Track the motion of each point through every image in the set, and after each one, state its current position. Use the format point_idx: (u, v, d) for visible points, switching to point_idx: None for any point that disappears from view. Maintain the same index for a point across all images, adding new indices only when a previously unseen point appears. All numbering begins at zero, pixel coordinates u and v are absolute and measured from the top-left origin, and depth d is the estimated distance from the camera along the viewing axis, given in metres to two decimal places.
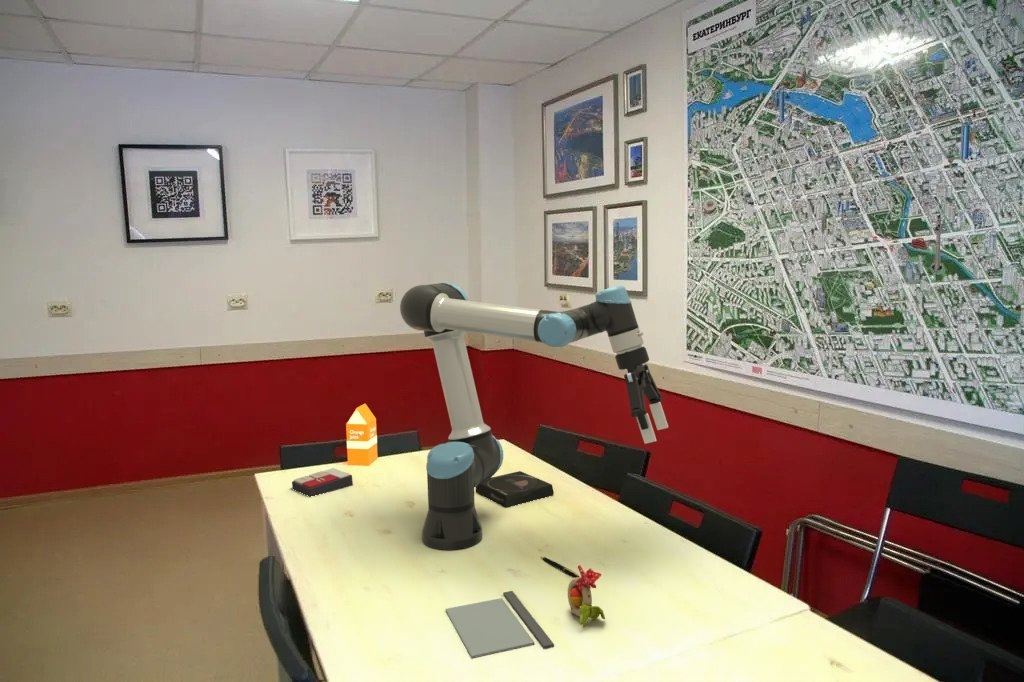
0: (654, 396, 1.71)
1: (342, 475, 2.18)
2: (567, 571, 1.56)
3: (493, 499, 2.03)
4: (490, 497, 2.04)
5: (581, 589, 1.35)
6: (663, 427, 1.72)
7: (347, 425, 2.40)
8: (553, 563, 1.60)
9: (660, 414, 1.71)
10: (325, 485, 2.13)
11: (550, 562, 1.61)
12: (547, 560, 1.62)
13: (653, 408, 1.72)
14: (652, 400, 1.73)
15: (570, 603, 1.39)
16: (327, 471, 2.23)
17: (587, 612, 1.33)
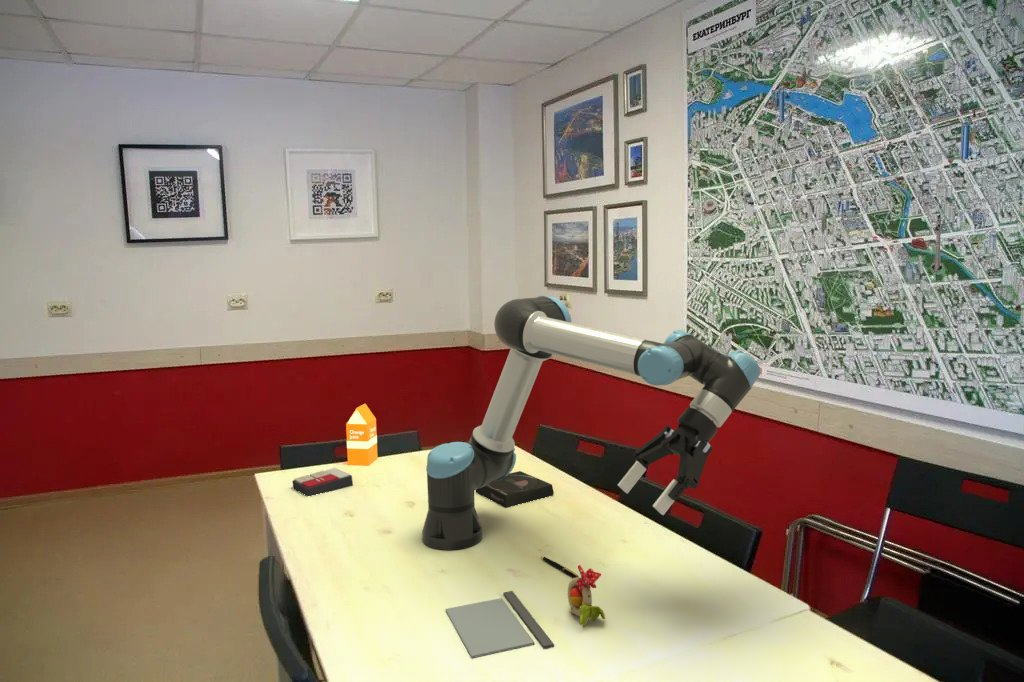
0: (650, 461, 1.46)
1: (342, 475, 2.18)
2: (566, 571, 1.56)
3: (493, 499, 2.03)
4: (490, 497, 2.04)
5: (581, 589, 1.35)
6: (625, 489, 1.45)
7: (347, 425, 2.40)
8: (553, 563, 1.60)
9: (635, 478, 1.45)
10: (324, 485, 2.13)
11: (550, 562, 1.61)
12: (547, 560, 1.62)
13: (637, 468, 1.45)
14: (641, 460, 1.46)
15: (570, 603, 1.39)
16: (329, 470, 2.24)
17: (587, 612, 1.33)
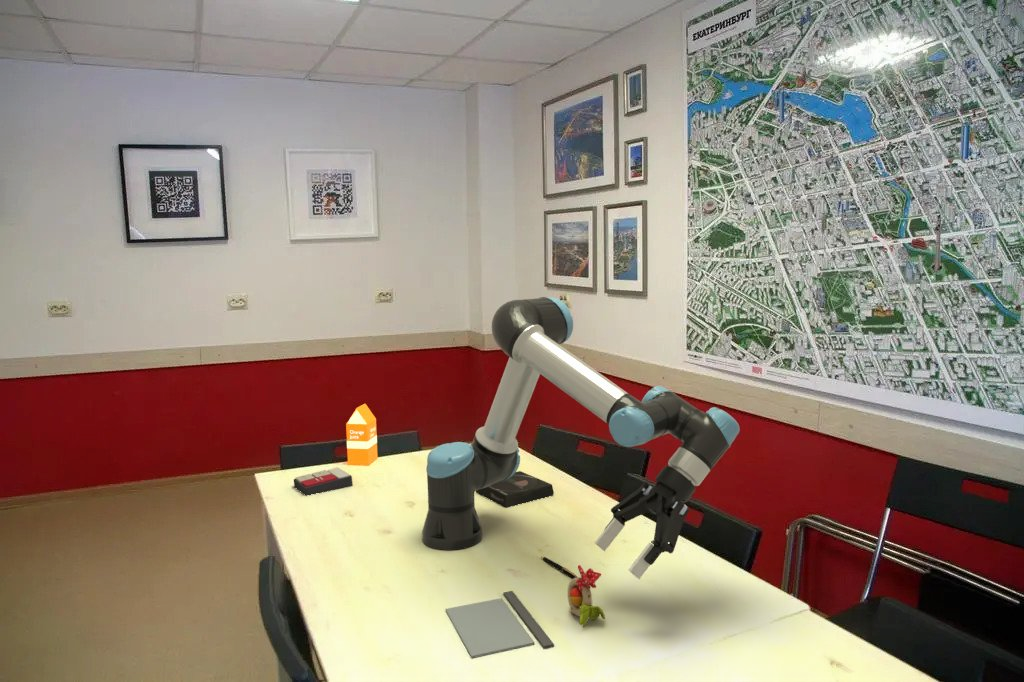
0: (628, 518, 1.44)
1: (342, 475, 2.18)
2: (565, 571, 1.55)
3: (493, 499, 2.03)
4: (490, 497, 2.04)
5: (581, 589, 1.35)
6: (602, 547, 1.43)
7: (347, 425, 2.40)
8: (552, 563, 1.60)
9: (613, 535, 1.44)
10: (322, 484, 2.13)
11: (549, 562, 1.61)
12: (547, 560, 1.62)
13: (615, 525, 1.44)
14: (619, 517, 1.45)
15: (570, 603, 1.39)
16: (331, 470, 2.24)
17: (587, 612, 1.33)
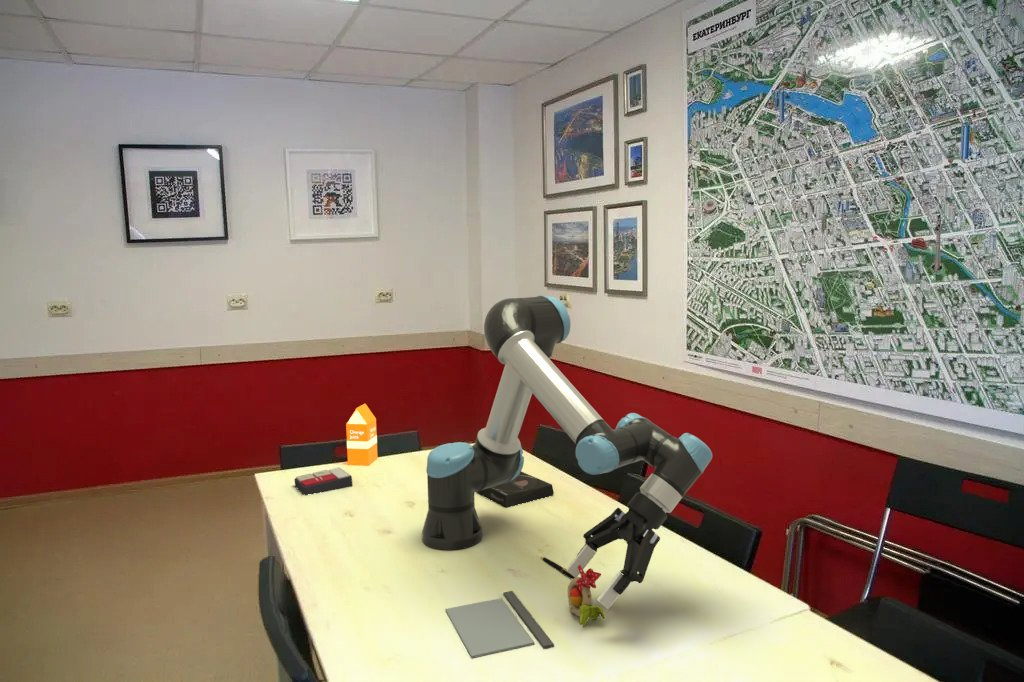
0: (600, 544, 1.43)
1: (342, 475, 2.18)
2: (565, 572, 1.55)
3: (493, 499, 2.03)
4: (490, 497, 2.04)
5: (581, 589, 1.35)
6: (573, 574, 1.42)
7: (347, 425, 2.40)
8: (552, 563, 1.60)
9: (584, 562, 1.42)
10: (322, 484, 2.13)
11: (549, 562, 1.61)
12: (546, 560, 1.62)
13: (586, 551, 1.42)
14: (591, 543, 1.43)
15: (570, 603, 1.39)
16: (332, 470, 2.24)
17: (587, 612, 1.33)
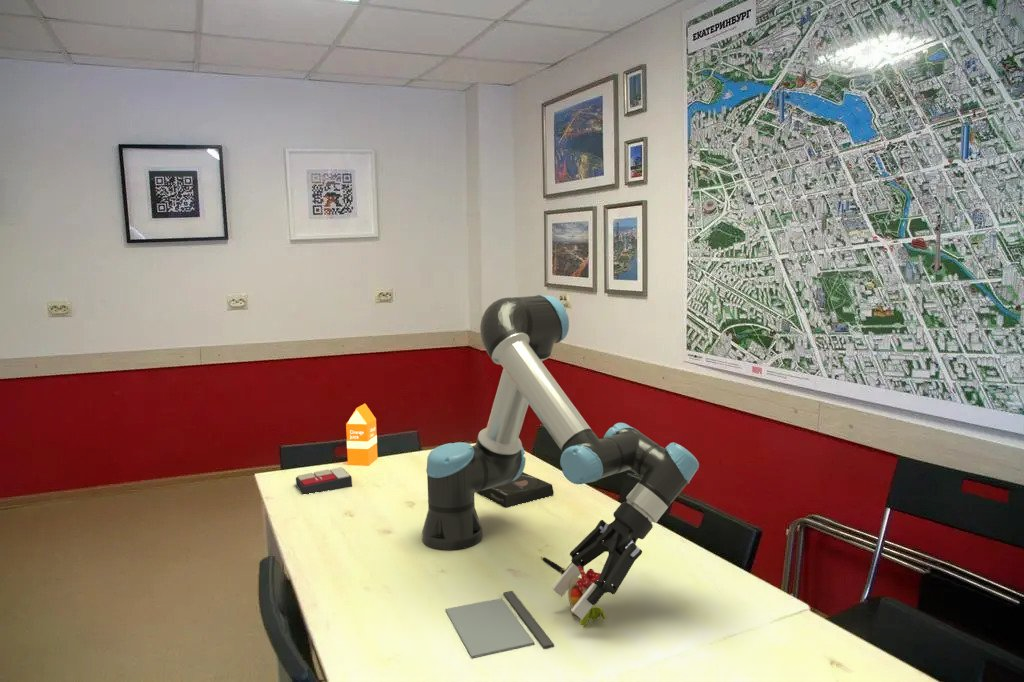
0: (587, 561, 1.41)
1: (341, 475, 2.18)
2: None
3: (493, 499, 2.03)
4: (490, 497, 2.04)
5: (582, 590, 1.35)
6: (559, 593, 1.39)
7: (347, 425, 2.40)
8: (552, 563, 1.60)
9: (570, 581, 1.40)
10: (321, 484, 2.14)
11: (549, 562, 1.61)
12: (546, 560, 1.62)
13: (572, 570, 1.40)
14: (577, 561, 1.41)
15: (571, 603, 1.38)
16: (333, 469, 2.24)
17: (588, 613, 1.33)
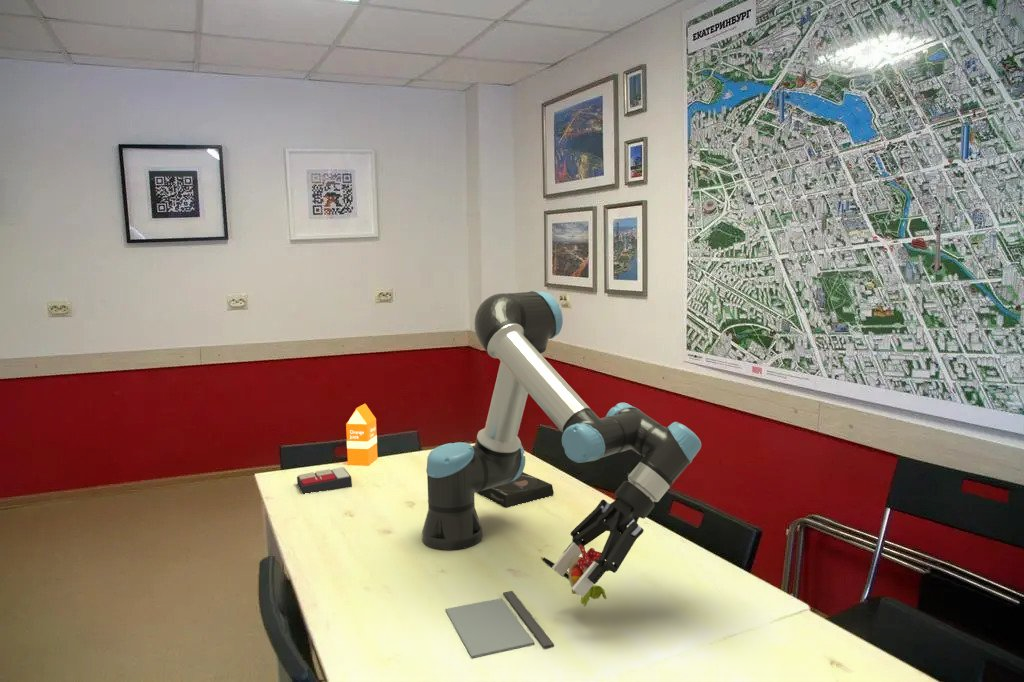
0: (588, 540, 1.40)
1: (341, 475, 2.18)
2: None
3: (493, 499, 2.03)
4: (490, 497, 2.04)
5: (582, 568, 1.34)
6: (559, 572, 1.39)
7: (347, 425, 2.40)
8: (551, 564, 1.60)
9: (571, 560, 1.39)
10: (320, 484, 2.14)
11: (548, 563, 1.61)
12: (546, 561, 1.62)
13: (573, 549, 1.39)
14: (578, 541, 1.40)
15: (571, 583, 1.38)
16: (334, 469, 2.25)
17: (588, 591, 1.32)
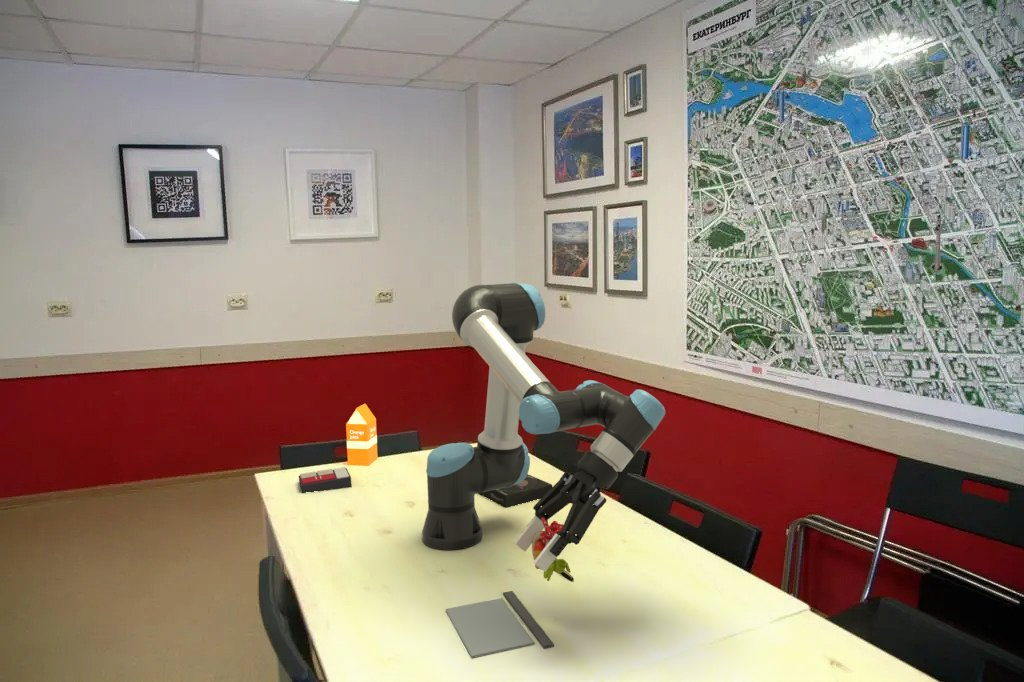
0: (551, 514, 1.35)
1: (341, 476, 2.18)
2: (562, 572, 1.55)
3: (493, 499, 2.03)
4: (490, 497, 2.04)
5: (545, 542, 1.29)
6: (522, 547, 1.34)
7: (347, 425, 2.40)
8: None
9: (534, 534, 1.34)
10: (319, 483, 2.14)
11: None
12: None
13: (536, 523, 1.34)
14: (541, 515, 1.35)
15: (534, 558, 1.33)
16: (336, 469, 2.25)
17: (551, 565, 1.27)
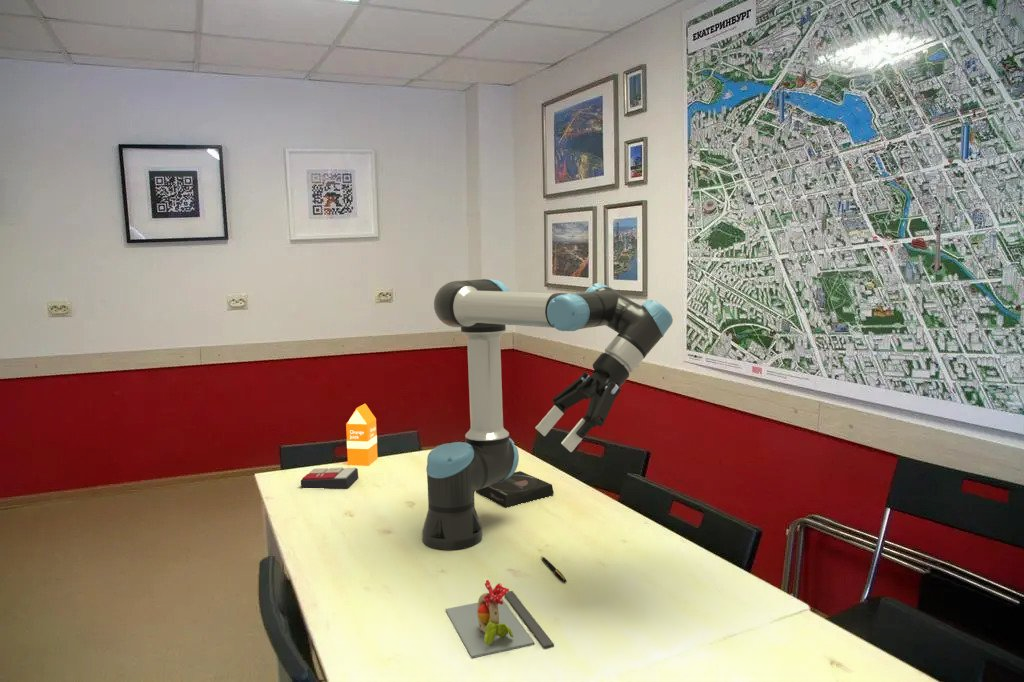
0: (567, 405, 1.52)
1: (339, 476, 2.17)
2: (557, 573, 1.55)
3: (493, 499, 2.03)
4: (490, 497, 2.04)
5: (488, 605, 1.29)
6: (542, 432, 1.51)
7: (347, 425, 2.40)
8: (548, 564, 1.59)
9: (553, 421, 1.51)
10: (317, 481, 2.17)
11: (546, 563, 1.60)
12: (544, 560, 1.62)
13: (554, 411, 1.51)
14: (559, 404, 1.52)
15: (479, 620, 1.32)
16: (346, 469, 2.25)
17: (493, 630, 1.26)
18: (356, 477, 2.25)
